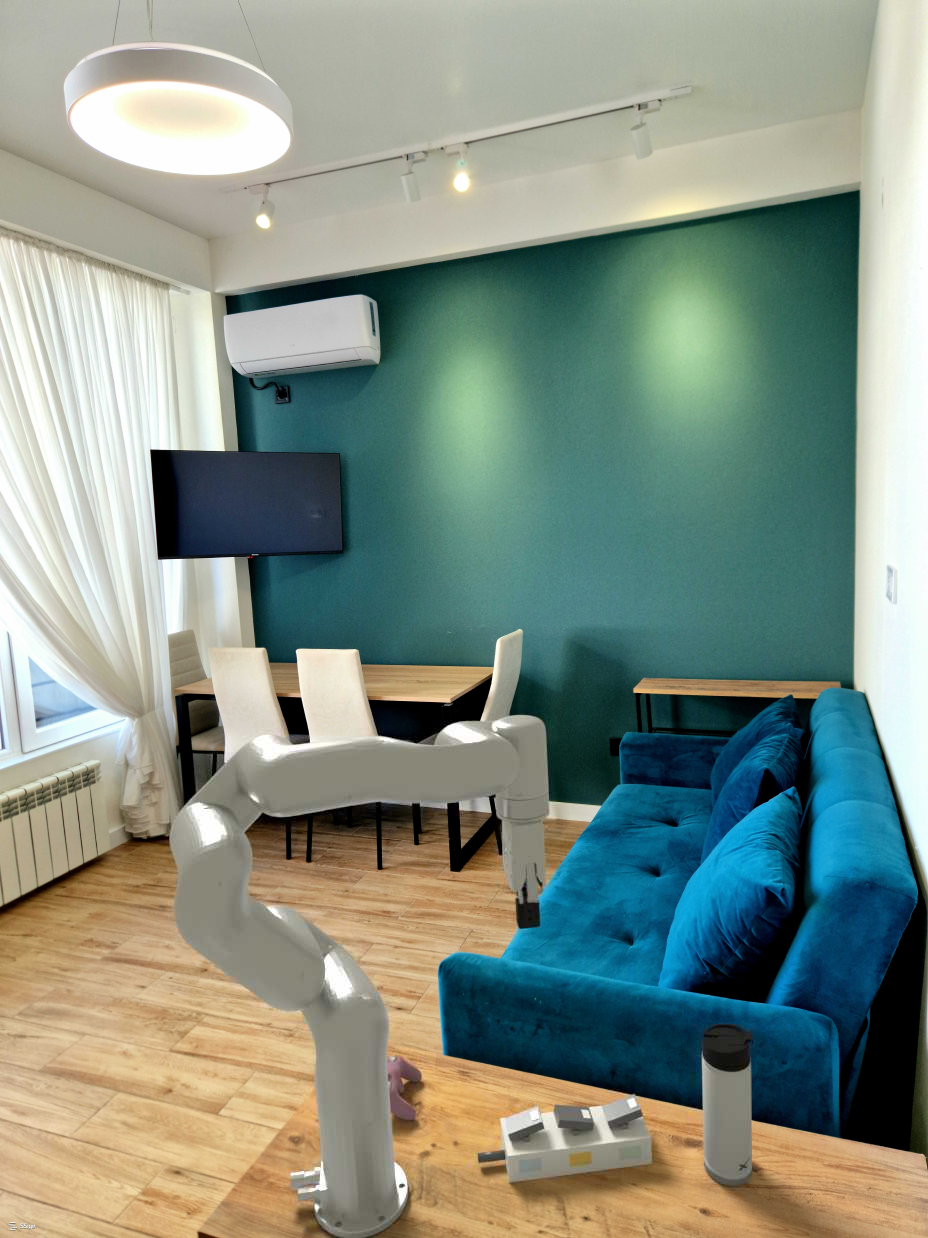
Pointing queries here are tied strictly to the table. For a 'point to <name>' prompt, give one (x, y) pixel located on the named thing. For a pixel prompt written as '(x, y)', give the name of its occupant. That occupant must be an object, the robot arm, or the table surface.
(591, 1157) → the power strip
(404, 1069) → the video game controller
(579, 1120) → the rocker middle
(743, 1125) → the travel mug
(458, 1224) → the table surface
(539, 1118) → the block
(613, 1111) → the rocker
